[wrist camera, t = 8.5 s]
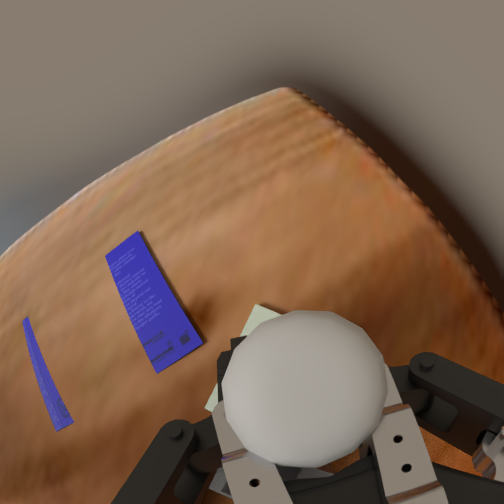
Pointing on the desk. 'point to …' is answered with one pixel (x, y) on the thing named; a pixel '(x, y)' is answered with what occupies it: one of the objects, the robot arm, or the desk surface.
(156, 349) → the blue cards
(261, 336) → the salt shaker
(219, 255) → the desk surface
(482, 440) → the robot arm
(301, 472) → the grey rectangular frame
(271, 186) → the desk surface
